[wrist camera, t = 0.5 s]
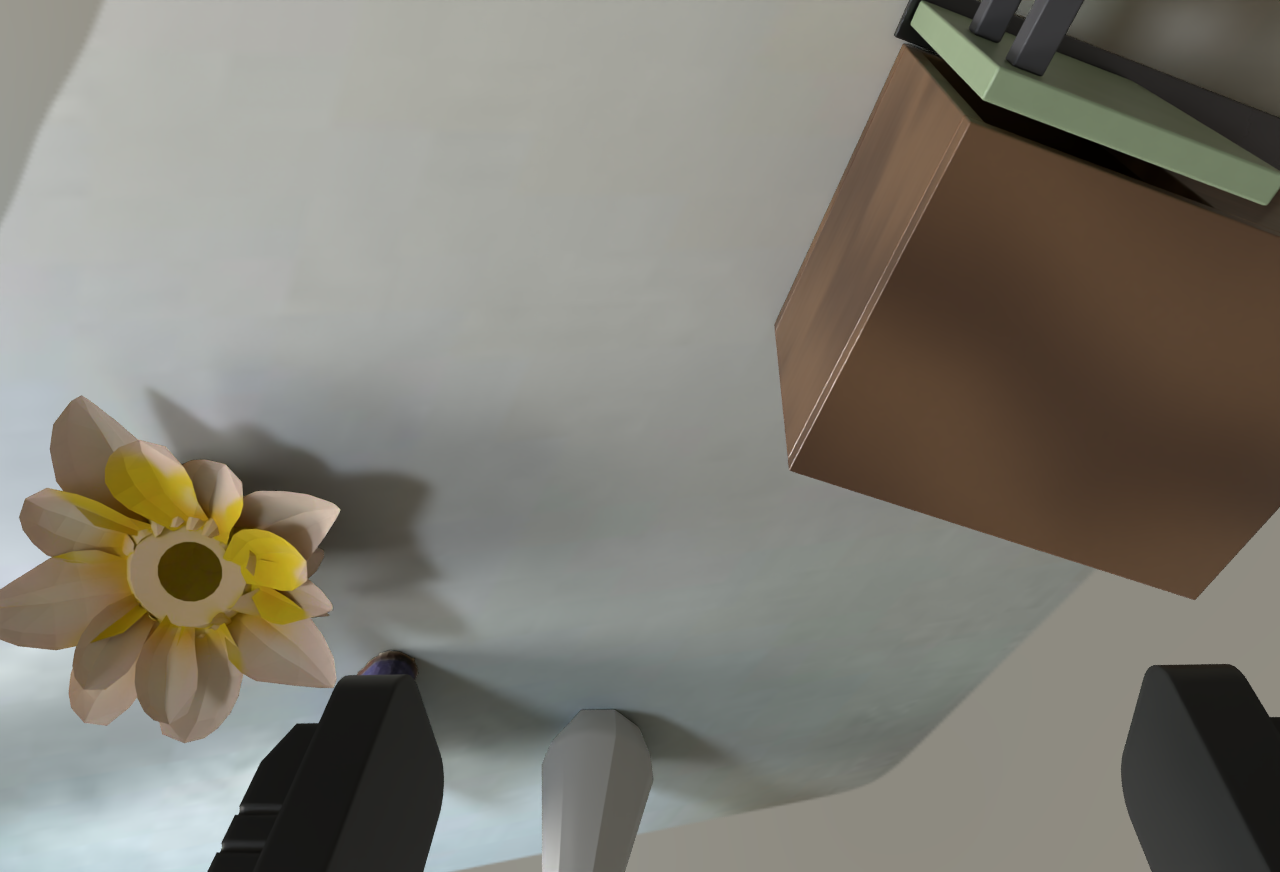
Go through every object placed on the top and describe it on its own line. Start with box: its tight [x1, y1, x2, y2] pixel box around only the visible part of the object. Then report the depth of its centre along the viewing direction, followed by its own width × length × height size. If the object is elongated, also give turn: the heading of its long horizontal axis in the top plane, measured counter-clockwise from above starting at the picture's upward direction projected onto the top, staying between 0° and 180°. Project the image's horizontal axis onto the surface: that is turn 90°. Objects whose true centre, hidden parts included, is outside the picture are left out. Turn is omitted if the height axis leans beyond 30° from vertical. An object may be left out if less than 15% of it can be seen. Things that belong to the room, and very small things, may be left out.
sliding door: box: [911, 0, 1280, 205], centre depth 25 cm, size 4×8×10 cm, turn 72°
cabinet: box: [774, 0, 1280, 600], centre depth 30 cm, size 13×15×10 cm
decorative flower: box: [0, 396, 340, 743], centre depth 40 cm, size 15×11×10 cm
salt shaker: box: [542, 709, 653, 872], centre depth 45 cm, size 6×6×13 cm
